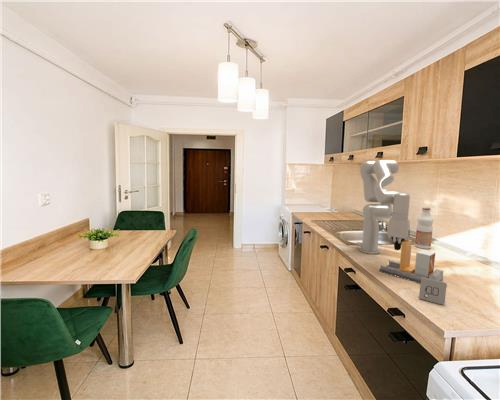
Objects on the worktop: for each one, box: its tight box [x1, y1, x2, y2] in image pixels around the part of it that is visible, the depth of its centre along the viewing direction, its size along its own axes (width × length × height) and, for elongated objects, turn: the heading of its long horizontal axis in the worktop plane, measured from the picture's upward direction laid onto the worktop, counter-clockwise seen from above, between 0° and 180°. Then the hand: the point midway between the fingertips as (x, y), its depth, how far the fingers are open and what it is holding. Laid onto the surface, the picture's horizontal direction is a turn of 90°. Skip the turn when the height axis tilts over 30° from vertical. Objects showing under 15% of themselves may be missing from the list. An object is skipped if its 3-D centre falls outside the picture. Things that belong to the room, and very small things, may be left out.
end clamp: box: [399, 239, 415, 274], centre depth 148 cm, size 6×9×17 cm, turn 132°
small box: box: [414, 249, 436, 278], centre depth 143 cm, size 8×6×13 cm
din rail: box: [379, 260, 444, 284], centre depth 148 cm, size 26×14×5 cm, turn 42°
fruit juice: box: [414, 207, 434, 250], centre depth 197 cm, size 9×9×28 cm
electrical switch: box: [418, 278, 448, 306], centre depth 122 cm, size 9×5×9 cm, turn 52°
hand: (397, 249), depth 152 cm, fingers closed
